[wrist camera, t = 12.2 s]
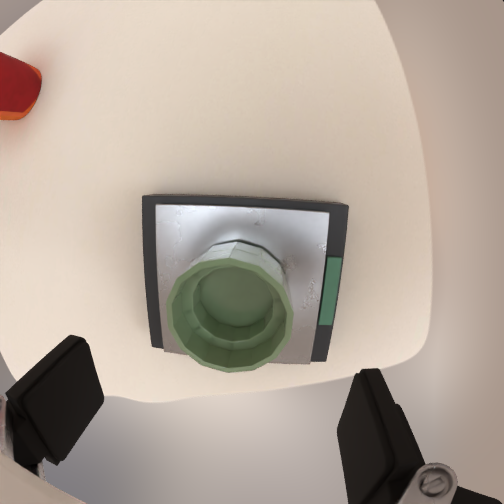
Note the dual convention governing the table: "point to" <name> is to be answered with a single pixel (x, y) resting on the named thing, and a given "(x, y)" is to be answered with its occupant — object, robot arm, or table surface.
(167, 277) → the platform
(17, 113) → the coffee cup
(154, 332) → the scale base
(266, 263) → the bowl
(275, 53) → the table surface
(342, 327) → the table surface
